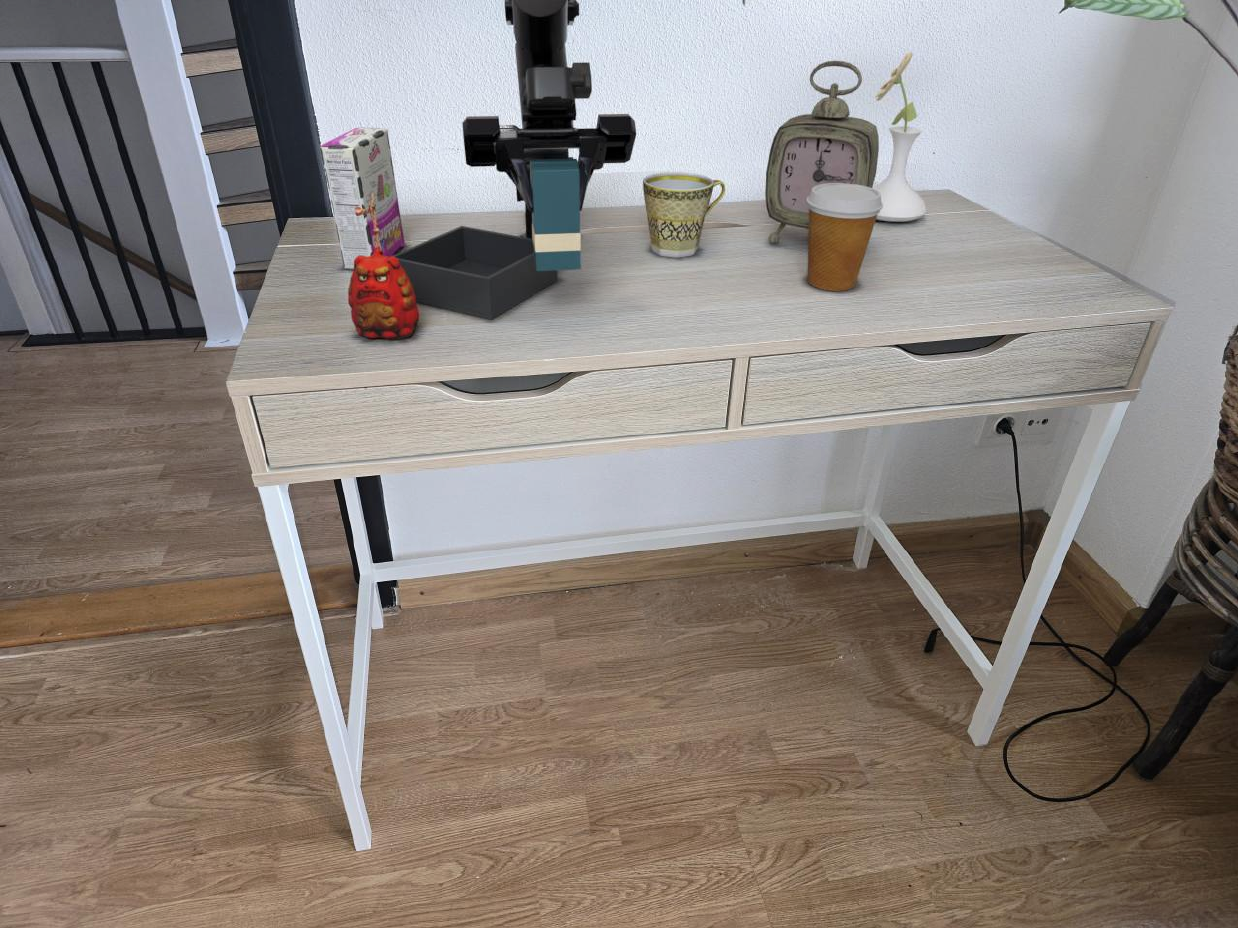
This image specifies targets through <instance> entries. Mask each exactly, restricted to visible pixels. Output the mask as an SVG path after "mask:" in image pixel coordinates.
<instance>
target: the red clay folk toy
mask: <svg viewBox="0 0 1238 928" xmlns="http://www.w3.org/2000/svg"><path fill="white" fill-rule="evenodd" d="M370 195H371V198H372V199H371V200H372V201H371V203H370V204H369V209H367V210H366V209H361V208H360V207H358V206H357V207H356V208H355V211H356V216H360V215H362V214H366V213H370V214H371V218H372V222H373V226H374V229H373V232H374V235H375V244H374V251H375V252H374V253H373V255H372V256H368V257H367V256H361V255H359V256H357V257H356V259H355V260H354V270H352V273H351V276H350V279H349V282H350V283H349V286H348V290H347V291H348V292H347V295H348V297H347V300H348V305H349V307H350V308H351V309H350V310H351V311H350V316H351V321H352V323H353V325H354V327H355V329H356V330H355V331H356V333H357V334H358V336H364V337H365V338H367V339H378V338H380V339H386V340H388V341H390V340H391V341H394V340H400V339H401V340H402V339H407V338H410V337H411V336H412V334H413V331H414V330H415V329H416V327H417V326H418V322H419V321H420V311H419V306H418V304H417V303H418V302H416V299H415V293H414V290H413V287H412V284H411V282H410V280H409V278H408V276H407V275H406V273H405V271H404V269H403V268H402V267H401V266H400V265H399V261H398V258H396V257H394V256H393V257H387V256H385V255H384V253H383V251H382V248H381V245H380V242H379V239H378V237H379V235H380V230H379V229H378V228H377V219H376V208H375V206H376V204H375V205H373V204H374V195H373V194H372V193H371V194H370Z"/></svg>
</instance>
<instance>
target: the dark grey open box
mask: <svg viewBox="0 0 1238 928" xmlns="http://www.w3.org/2000/svg"><path fill="white" fill-rule="evenodd" d="M520 236H521V235H513V234H509V233H503V232H498V231H491V230H487V229H482V228H476V227H471V226H466V225H460V226H458V227H456V228H453V229H451V230H449V231H447V232H444V233H442V234H439V235H437V236H435V237H432V238H430V239H427V240H425V241H423V242H421V243H418V244H417V245H413V246H412V247H409V248H407V249H404V250H402V251H400V252H396V253H395V254H394V255H393V256H394V257H396V258H398V261H399V265H400V266H401V267H402V268H403V269H404V271H405V273H406V275H407V276H408V278H409V280H410V282H411V284H412V287H413V290H414V293H415V299H416V303H418V304H421V305H422V304H423V305H427V306H430V307H431V306H432V307H435V308H439V309H444V310H449V311H451V312H452V311H453V312H457V313H460V314H465V315H470V316H473V317H478V318H482V319H487V320H491V321H492V320H494V319H496V318H498V317H499V316H501V315H502V314H504V313H506V312H507V311H509V310H511V309H512V308H514V307H516V306H517V305H519V304H521V303H522V302H524V301H526V300H527V299H529V298H531V297H532V296H534V295H536V294H538V293H539V292H541V291H542V290H544V289H546V288H548V287H549V286H551V285H553V284H554V283H556V282H557V281H558V270H553V271H536V266H535V262H534V251H533V239H530V238H525V237H520ZM393 256H391V257H393Z"/></svg>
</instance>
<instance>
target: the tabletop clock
mask: <svg viewBox="0 0 1238 928" xmlns="http://www.w3.org/2000/svg"><path fill="white" fill-rule="evenodd" d="M828 67H838V68H839V67H841V68H846V69H849V70H851V71H853V72H854V73H855V75H856V77H857V79H858V81H857V84H856V85H855V86H852V87H851V88H847V89H839V84H838V83H837V82H835V83H832V84H831V85H830V88H825V87H821V86H819V85H818V84H817V83H816V82H815V80H814V76H815V75H816V73H818V72H819V71H820V70H821V69H824V68H828ZM809 82H810V86H811V87H812V88H813V89H814V91H816V92H818V93H820V94H822V95H827V96H828V97H823V98H821V99H820V100H819V101H817V103H816V104H815V105H814V107H813V109H812V111H811V113H805V114H800V115H796V116H793V117H791V118H788V120H787V121H785V122H784V123H782V125H780V126H779V127H778V129H777V131H776V133H775V135H774V136H773V139H772V142H771V146H770V149H769V155H768V160H767V166H766V171H765V189H764V190H765V192H764V196H765V197H764V198H765V207H766V212H767V214H768V218H770V219H771V220H773V221H775V222H777V223H779V226H778V228H777V229H776V231H775V232H771V233H769V235H768V241H769V243H770V244H772V245H775V244H778V243H779V241H780V233H781V232H782V231H783V229H784V228H785V227H786V226H791V227H796V228H801V229H806V230H809V208H808V203H807V201H806V200H807V197H808V196H810V193H811V190H812V188H813V187H814V186H817V185H821V184H827V183H846V184H856V185H862V186H866V187H870V188H873V187H874V184H875V178H876V175H877V170H878V159H879V150H880V139H879V132H878V128H877V125H875V124H874V123H872V122H871V121H869V120H866V119H863V118H860V117H854V116H850V108H849V105H848V103H847V101H845V100H844V99H843V98H840V97H841V96H846V95H850V94H853V93H854V92H855V91H857V90H858V89H859V87H861V85H862V82H863V76H862V73H861V71H860V70H859V68H858V67H857V66H856V65H854V64H853V63H851V62H848V61H844V60H828V61H824V62H821V63H820V64H818V65H817V66H816V67H814V68H813V70H812V71H811V73H810V75H809ZM839 96H840V97H839Z"/></svg>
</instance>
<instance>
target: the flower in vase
mask: <svg viewBox="0 0 1238 928" xmlns="http://www.w3.org/2000/svg"><path fill="white" fill-rule="evenodd" d="M912 58H913V51H910V52H907V53H906V54H905V55H903V58H902V59H901V62H900V64H899V66H898V67H894V69H893V70H892V72H891V73H890V74H891V75H890V78H889V79H888V80H887V81H885V82H884V83H883V84H882V85H881V86H880V90H879V92H878V93H877V94H876V95H875V96H874V98H876V100H875V101H878V102H879V101H881V100H882V99H883V98H884V97H885V96H886V95H887V94H888V93H889V91H890V90H891V89H892V88H893V87H894V86H895V85H899V86H900V89H901V92H902V95H903V101H904V107H903V108H901V109H900V111H899V112H898V113H897V115H896V116H895V118H894V119H893V121H892V123H891V125H892V126H891V127H889V128H888V130H889V133H890V134H891V137H892V143H893V149H892V150H893V151H892V160H891V166H890V170H889V172H888V175H886V177H885V179H884V180H882V181H881V182H879V183H878V184H877V185H876V186H873V187H872V188H873V189H875V190H877V191H879V192H880V193H881V202H882V203H883V207H882V209H881V210H880V212H879V213H878V214H877V217H876V220H877V221H884V222H892V223H893V222H894V223H895V222H896V223H897V222H899V223H900V222H903V223H904V222H910V221H911V222H912V221H915V220H918V219H921V218H922V217H923V216H924V215H925V214H927V212H928V210H927V205H926V203H925V201H924V200H923V198H922V197H921V196H920V195H919V193H917V191H916V190H915V189H914V188H913V187H912V186H911V185H910V183H908V181H907V178H906V168H907V162H908V159H909V156H910V152H911V150H912V148H913V145H914V142H915V141H916V139H917V138H918V137H919V136H920V135H921V134H922V132H923V129H920V128H918V127H913V126H908V122H911V121H914V120H915V119H916V118H917V116H918V114H917V111H916V108H915V105H914V102H913V101H911V102H909V103H908V99H907V95H906V89H905V86H904V83H903V77H902V74H903V73H904V72H905V70H906V69H907V67H908V65H909V64H910V62H911V60H912ZM902 119H903V121H904V125H903V126H902V125H901V126H898V125H897V124H898V123H899V122H900V121H901V120H902ZM896 125H897V126H896Z"/></svg>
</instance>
